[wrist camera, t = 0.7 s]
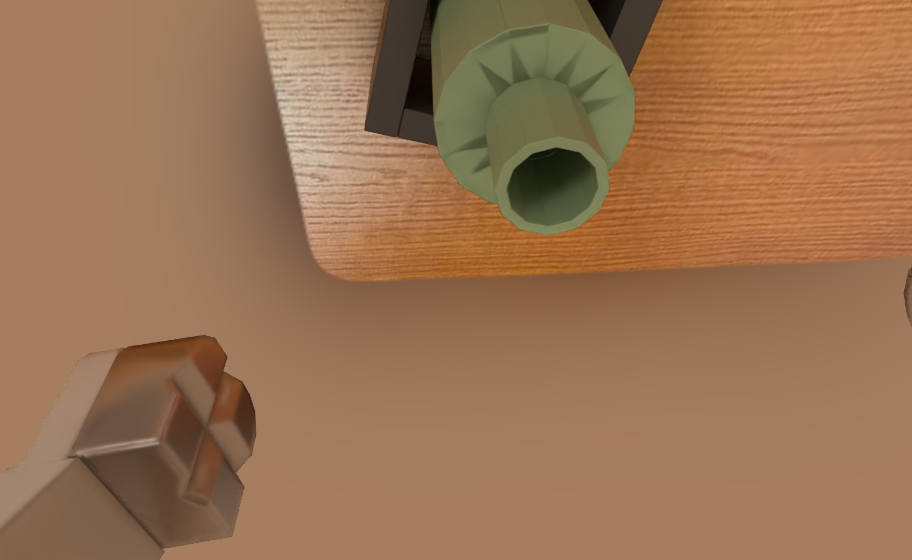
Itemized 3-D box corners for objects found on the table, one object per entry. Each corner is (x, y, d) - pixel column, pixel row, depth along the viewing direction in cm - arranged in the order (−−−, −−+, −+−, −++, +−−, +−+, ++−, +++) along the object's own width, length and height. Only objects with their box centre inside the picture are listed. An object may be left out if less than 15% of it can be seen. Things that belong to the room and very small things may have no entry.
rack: (371, 75, 35) (363, 130, 31) (416, -160, 29) (416, -134, 24) (564, 120, 38) (584, 178, 33) (647, -90, 31) (687, -54, 26)
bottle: (416, 48, 35) (415, 256, 22) (450, -97, 31) (473, 53, 18) (542, 78, 36) (612, 292, 23) (590, -56, 32) (710, 111, 19)
